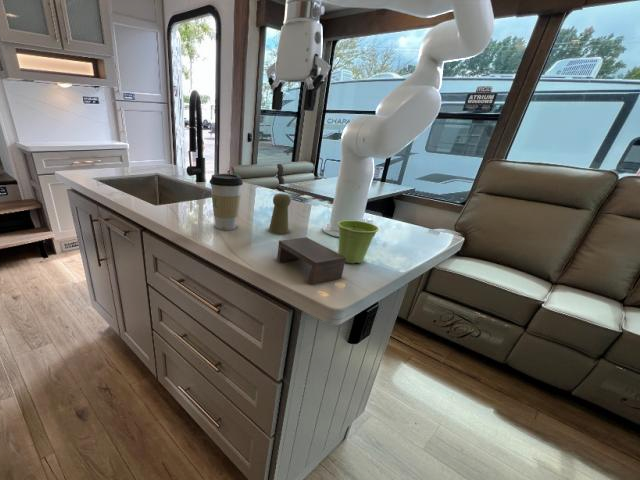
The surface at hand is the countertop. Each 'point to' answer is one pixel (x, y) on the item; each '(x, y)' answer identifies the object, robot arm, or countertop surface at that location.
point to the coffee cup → (225, 199)
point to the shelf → (313, 258)
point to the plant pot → (355, 239)
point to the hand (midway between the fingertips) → (291, 110)
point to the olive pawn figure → (280, 214)
